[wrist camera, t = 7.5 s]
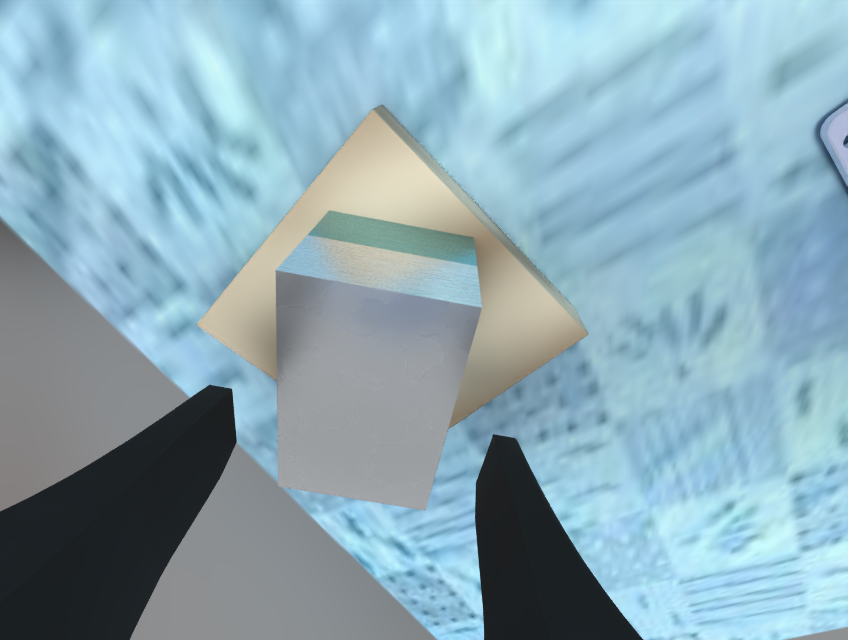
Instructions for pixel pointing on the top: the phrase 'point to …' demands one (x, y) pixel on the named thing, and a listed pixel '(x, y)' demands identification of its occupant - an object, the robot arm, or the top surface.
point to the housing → (371, 356)
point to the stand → (422, 207)
